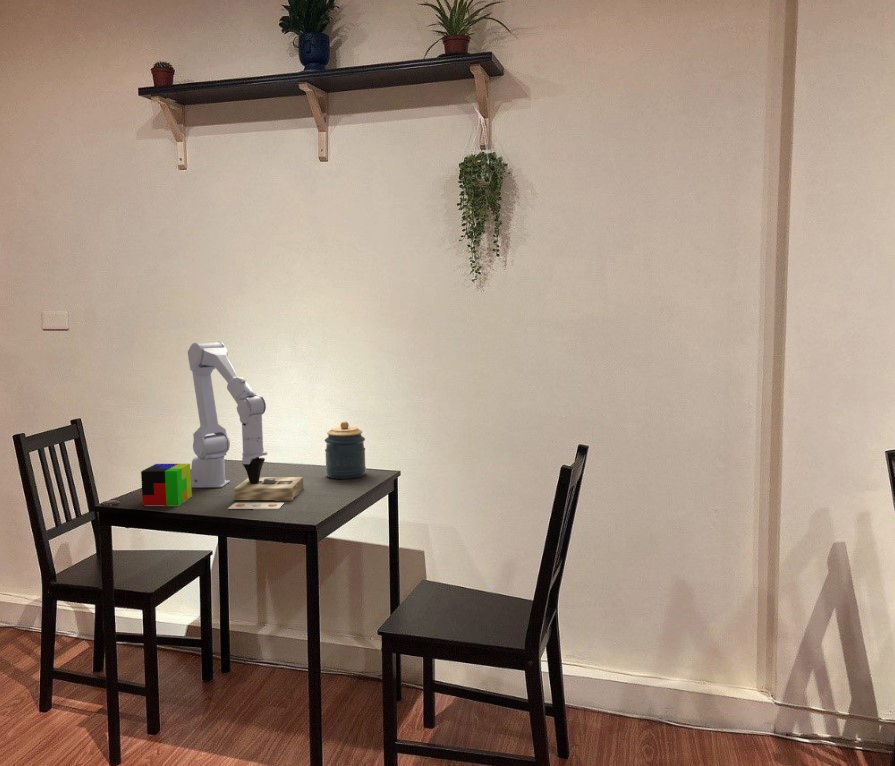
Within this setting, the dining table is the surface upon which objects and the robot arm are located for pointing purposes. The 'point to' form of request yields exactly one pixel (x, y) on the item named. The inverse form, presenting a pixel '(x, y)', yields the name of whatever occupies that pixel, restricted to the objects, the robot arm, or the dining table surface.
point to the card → (256, 506)
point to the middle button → (269, 481)
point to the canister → (345, 452)
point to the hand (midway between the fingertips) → (254, 483)
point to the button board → (269, 489)
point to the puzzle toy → (166, 484)
